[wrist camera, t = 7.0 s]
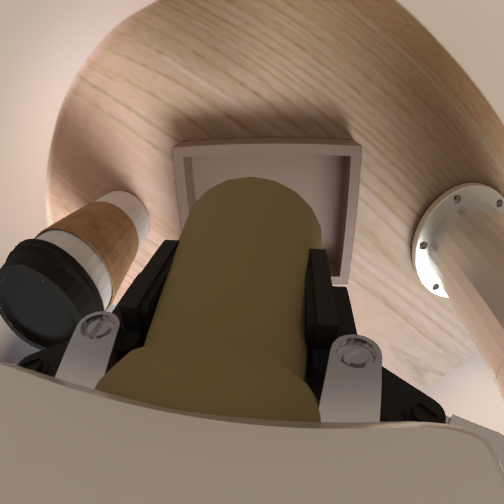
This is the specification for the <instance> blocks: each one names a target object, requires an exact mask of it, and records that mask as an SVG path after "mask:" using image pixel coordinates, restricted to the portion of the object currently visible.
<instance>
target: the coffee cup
mask: <svg viewBox="0 0 504 504" xmlns="http://www.w3.org/2000/svg"><path fill="white" fill-rule="evenodd" d="M149 227H150V219H149V215H148V212H147V210H146V208H145V206H144V205H143V203H142V202H141V201H140V200H139V199H138V198H137V197H136V196H134V195H132V194H130V193H128V192H125V191H112V192H110V193H108V194H106V195H104V196H102V197H100V198H99V199H97V200H95V201H94V202H92V203H90V204H88V205H86V206H84V207H82V208H80V209H79V210H77V211H75V212H73V213H72V214H70V215H68V216H66V217H65V218H63V219H61V220H60V221H58V222H56V223H54V224H53V225H51V226H49V227H48V228H46V229H44V230H43V231H41V232H40V233H39V234H38V235H37V236H36V237H35V239H27V240H24V241H22V242H20V243H19V244H18V245H17V246H16V247H15V248H14V250H13V251H11V252H10V254H9V256H8V258H7V259H6V262H5V264H4V265H3V266H2V267H1V269H0V314H1V316H2V318H3V319H4V321H5V322H6V323H7V324H8V326H9V327H10V328H11V330H12V331H14V333H15V334H16V335H17V336H19V337H20V338H21V339H22V340H23V341H25V342H26V343H28V344H30V345H31V346H33V347H36V348H37V349H40V350H44V349H46V348H49V347H52V346H54V345H57V344H59V343H62V342H65V341H67V340H70V339H71V338H72V335H73V333H74V331H75V329H76V326H77V325H78V323H79V322H80V320H82V319H83V318H84V317H85V316H87V315H89V314H91V313H95V312H100V311H107V310H108V308H109V307H110V305H111V304H112V302H113V300H114V298H115V296H116V294H117V291H118V289H119V287H120V285H121V283H122V281H123V279H124V277H125V276H126V274H127V272H128V270H129V268H130V266H131V264H132V262H133V260H134V258H135V256H136V254H137V252H138V250H139V248H140V247H141V245H142V243H143V242H144V240H145V238H146V237H147V234H148V232H149Z"/></svg>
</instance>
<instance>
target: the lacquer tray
mask: <svg viewBox="0 0 504 504" xmlns="http://www.w3.org/2000/svg"><path fill="white" fill-rule="evenodd" d="M361 153H362V146H361V145H360V144H358V143H357V142H356V141H354V140H352V139H333V138H301V137H256V138H224V139H204V140H189V141H182V142H180V143H179V144H177V145H176V146H174V147H172V155H173V164H174V173H175V182H176V190H177V198H178V206H179V214H180V221H181V229H182V230H183V228H184V225H185V222H186V220H187V218H188V215H189V213H190V211H191V208H192V206H193V205H194V204H195V202H196V201H197V200H198V199H199V198H200V197H201V196H202V195H203V194H204V193H205V192H206V191H207V190H208V189H210V188H212V187H214V186H216V185H218V184H220V183H222V182H224V181H226V180H230V179H237V178H244V177H256V178H262V179H268V180H274V181H276V182H278V183H280V184H282V185H284V186H286V187H288V188H290V189H292V190H294V191H295V192H297V193H298V194H299V195H300V196H301V197H302V198H303V199H304V200H305V201H306V202H307V204H308V205H309V206H310V207H311V208H312V209H313V211H314V213H315V216H316V218H317V220H318V222H319V224H320V226H321V231H322V244H323V249H325V250H326V253H327V259H328V264H329V269H330V275H331V280H332V284H348V279H349V272H350V265H351V258H352V250H353V242H354V234H355V225H356V215H357V205H358V194H359V182H360V169H361Z"/></svg>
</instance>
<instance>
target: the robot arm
mask: <svg viewBox="0 0 504 504" xmlns="http://www.w3.org/2000/svg"><path fill="white" fill-rule="evenodd" d="M178 244H179V241H178V240H165V241H164V242H163V243H162V244H161V246H160V247H159V248H158V250H157V251H156V253H155V254H154V255H153V257H152V258H151V259H150V261H149V262H148V264H147V265H146V266H145V268H144V269H143V271H142V272H141V273H139V274H138V275H137V277H136V278H135V280H134V281H133V283H132V284H131V285H130V287H129V288H128V290H127V291H126V293H125V294H124V295H123V297H122V298H121V300H120V301H119V303H118V304H117V306H116V307H115V309H114V310H113V312H112V313H111V312H106V311H100V312H95V313H91V314H89V315H87V316H85V317H84V318H83V319H82V320H80V322H79V323H78V325H77V326H76V329H75V331H74V333H73V335H72V338H71V339H70V340H67V341H65V342H62V343H59V344H57V345H54V346H52V347H49V348H46V349H44V350H41V351H39V352H36V353H34V354H31V355H29V356H27V357H25V358H24V359H23V360H21V362H20V363H19V364H18V365H16V364H9V363H4V362H0V504H504V436H503V435H502V434H500V433H498V432H495V431H493V430H490V429H488V428H485V427H483V426H480V425H478V424H475V423H473V422H470V421H468V420H465V419H463V418H460V417H458V416H455V415H452V416H451V418H450V417H448V416H446V415H445V412H444V410H443V408H442V407H441V405H440V404H438V403H437V402H436V401H435V400H433V399H432V398H430V397H429V396H427V395H426V394H424V393H423V392H421V391H419V390H418V389H416V388H415V387H413V386H412V385H410V384H409V383H407V382H406V381H404V380H402V379H401V378H399V377H398V376H396V375H395V374H393V373H392V372H390V371H389V370H387V369H386V368H384V367H383V366H382V353H381V350H380V348H379V346H378V345H377V344H376V343H375V342H374V341H373V340H371V339H369V338H367V337H365V336H361V335H357V332H356V327H355V322H354V317H353V313H352V308H351V304H350V299H349V295H348V291H347V288H346V287H337V286H332V280H331V275H330V269H329V264H328V259H327V253H326V250H325V249H310V255H309V260H308V265H307V269H306V321H305V343H306V345H307V347H308V360H309V367H308V374H307V380H306V384H307V385H308V386H309V388H310V389H311V391H312V392H313V394H314V395H315V397H316V398H317V400H318V401H319V412H320V415H321V422H300V421H281V420H267V419H255V418H245V417H230V416H220V415H211V414H203V413H195V412H188V411H181V410H175V409H170V408H166V407H162V406H157V405H153V404H149V403H145V402H141V401H137V400H133V399H130V398H126V397H122V396H118V395H114V394H110V393H106V392H102V391H99V390H95V387H96V385H97V383H98V382H99V380H100V379H101V378H102V377H103V376H104V375H105V374H106V373H107V372H108V371H109V370H110V369H111V368H112V367H113V366H114V365H115V364H117V363H118V362H119V361H120V360H121V359H122V358H123V357H125V356H126V355H127V354H128V353H129V352H130V351H132V350H134V349H137V348H141V347H143V346H144V343H145V339H146V336H147V333H148V330H149V328H150V325H151V322H152V319H153V316H154V313H155V310H156V307H157V304H158V301H159V298H160V295H161V292H162V289H163V286H164V283H165V281H166V278H167V275H168V273H169V270H170V268H171V266H172V262H173V258H174V255H175V252H176V249H177V246H178ZM412 262H413V267H414V270H415V273H416V275H417V276H418V278H419V280H420V282H421V283H422V284H423V285H424V287H425V288H426V289H427V290H429V291H430V292H431V293H434V294H436V295H438V296H443V297H449V299H450V301H451V302H452V304H453V306H454V307H455V309H456V311H457V312H458V314H459V316H460V317H461V319H462V321H463V323H464V324H465V326H466V328H467V330H468V331H469V333H470V335H471V337H472V339H473V340H474V342H475V344H476V346H477V348H478V350H479V351H480V353H481V355H482V357H483V359H484V361H485V363H486V365H487V367H488V369H489V371H490V373H491V375H492V377H493V379H494V381H495V383H496V385H497V387H498V390H499V392H500V394H501V396H502V398H503V400H504V197H503V196H502V195H501V194H500V193H499V192H497V191H496V190H494V189H493V188H491V187H489V186H487V185H485V184H482V183H474V182H472V183H464V184H461V185H458V186H455V187H453V188H451V189H449V190H448V191H446V192H444V193H443V194H442V195H441V196H439V197H438V198H437V199H436V200H435V201H434V202H433V203H432V204H431V205H430V207H429V208H428V209H427V210H426V212H425V213H424V215H423V217H422V218H421V220H420V222H419V224H418V227H417V229H416V231H415V235H414V239H413V243H412Z"/></svg>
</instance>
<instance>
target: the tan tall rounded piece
mask: <svg viewBox="0 0 504 504" xmlns="http://www.w3.org/2000/svg"><path fill="white" fill-rule="evenodd" d="M310 249H323V244H322V231H321V226H320V224H319V222H318V220H317V218H316V216H315V213H314V211H313V209H312V208H311V207H310V206H309V205H308V204H307V202H306V201H305V200H304V199H303V198H302V197H301V196H300V195H299V194H298V193H297V192H295V191H294V190H292V189H290V188H288V187H286V186H284V185H282V184H280V183H278V182H276V181H274V180H268V179H262V178H256V177H244V178H237V179H230V180H226V181H224V182H222V183H220V184H218V185H216V186H214V187H212V188H210V189H208V190H207V191H206V192H205V193H204V194H203V195H202V196H201V197H200V198H199V199H198V200H197V201H196V202H195V204H194V205H193V206H192V208H191V211H190V213H189V215H188V218H187V220H186V222H185V225H184V228H183V230H182V233H181V236H180V238H179V244H178V246H177V249H176V252H175V255H174V258H173V262H172V266H171V268H170V270H169V273H168V275H167V278H166V281H165V283H164V286H163V289H162V292H161V295H160V298H159V301H158V304H157V307H156V310H155V313H154V316H153V319H152V322H151V325H150V328H149V330H148V333H147V336H146V339H145V343H144V346H143V347H141V348H137V349H134V350H132V351H130V352H129V353H128V354H127V355H126V356H125V357H123V358H122V359H121V360H120V361H119V362H118V363H117V364H115V365H114V366H113V367H112V368H111V369H110V370H109V371H108V372H107V373H106V374H105V375H104V376H103V377H102V378H101V379H100V380H99V382H98V383H97V385H96V387H95V390H99V391H102V392H106V393H110V394H114V395H118V396H122V397H126V398H130V399H133V400H137V401H141V402H145V403H149V404H153V405H157V406H162V407H166V408H170V409H175V410H181V411H188V412H195V413H203V414H211V415H220V416H230V417H245V418H255V419H267V420H281V421H300V422H321V415H320V412H319V401H318V400H317V398H316V397H315V395H314V394H313V392H312V391H311V389H310V388H309V386H308V385H307V384H306V380H307V374H308V367H309V360H308V347H307V345H306V343H305V321H306V269H307V265H308V260H309V255H310Z"/></svg>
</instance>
